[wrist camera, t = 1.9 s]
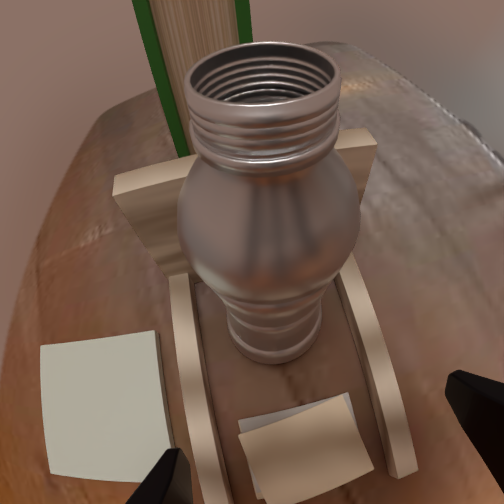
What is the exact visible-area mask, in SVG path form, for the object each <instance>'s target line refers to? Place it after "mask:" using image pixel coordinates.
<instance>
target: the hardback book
mask: <svg viewBox="0 0 504 504" xmlns="http://www.w3.org/2000/svg"><path fill="white" fill-rule="evenodd" d="M132 3H133V6H134V10H135V14H136V18H137V22H138V25H139V29H140V33H141V36H142V40H143V43H144V47H145V50H146V54H147V57H148V60H149V64H150V67H151V71H152V74H153V77H154V80H155V84H156V87H157V91H158V94H159V97H160V100H161V104H162V107H163V110H164V113H165V116H166V120H167V123H168V126H169V129H170V132H171V135H172V138H173V141H174V145H175V148H176V151H177V154H178V157H179V158H182V157H186V156H190V155H195V154H197V153H196V152H195V150H194V147H193V144H192V140H191V136H190V132H189V122H190V119H191V118H190V114H189V110H188V106H187V101H186V97H185V93H184V77H185V75H186V73H187V71H188V70H189V69H190V67H191V66H192V65H193V64H194V63H196V62H197V61H199V60H200V59H201V58H203V57H205V56H207V55H209V54H210V53H213V52H215V51H218V50H220V49H223V48H226V47H230V46H233V45H238V44H243V43H250V42H253V38H252V27H251V15H250V4H249V0H132Z"/></svg>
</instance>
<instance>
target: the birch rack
mask: <svg viewBox="0 0 504 504" xmlns="http://www.w3.org/2000/svg"><path fill="white" fill-rule="evenodd" d="M377 145H378V144H377V143H376V141H375V140H374V138H373V137H372V136H371V134H370V133H369V131H368V130H367V129H366V128H357V129H347V130H339V134H338V139H337V141H336V144H335V146H334V148H335V149H336V150H337V152H338V153H339V154H340V155H341V157H342V159H343V160H344V162H345V164H346V165H347V167H348V169H349V170H350V172H351V174H352V176H353V179H354V181H355V183H356V186H357V191H358V197H359V204H360V203H361V200H362V197H363V194H364V191H365V187H366V184H367V181H368V177H369V174H370V170H371V167H372V163H373V160H374V156H375V153H376V149H377ZM197 157H198V155H197V154H195V155H190V156H186V157H182V158H178V159H174V160H170V161H166V162H162V163H158V164H154V165H150V166H147V167H143V168H140V169H136V170H132V171H129V172H126V173H122V174H119V175H115V179H114V187H113V195H112V196H113V198H114V199H115V201H116V203H117V204H118V206H119V207H120V209H121V211H122V212H123V214H124V215H125V217H126V218H127V220H128V222H129V223H130V225H131V226H132V228H133V229H134V231H135V232H136V234H137V235H138V237H139V238H140V240H141V241H142V243H143V244H144V246H145V247H146V249H147V250H148V252H149V253H150V255H151V256H152V258H153V259H154V261H155V262H156V263H157V265H158V266H159V268H160V269H161V271H162V272H163V273H164V275H165V276H166V278H167V279H168V281H169V288H170V299H171V310H172V319H173V328H174V337H175V345H176V353H177V361H178V368H179V375H180V382H181V388H182V395H183V401H184V407H185V413H186V418H187V424H188V429H189V435H190V440H191V445H192V450H193V455H194V460H195V464H196V469H197V473H198V478H199V482H200V486H201V490H202V495H203V499H204V503H205V504H234V500H233V496H232V492H231V488H230V484H229V480H228V475H227V471H226V467H225V462H224V458H223V453H222V449H221V444H220V439H219V434H218V429H217V424H216V419H215V414H214V409H213V404H212V398H211V393H210V387H209V381H208V376H207V370H206V364H205V358H204V352H203V345H202V339H201V332H200V325H199V318H198V311H197V304H196V297H195V289H194V283H198V282H203V280H202V279H201V278H200V277H199V276H198V274H197V273H196V272H195V271H194V269H193V268H192V266H191V265H190V264H189V262H188V261H187V259H186V257H185V255H184V253H183V251H182V249H181V247H180V243H179V238H178V234H177V202H178V198H179V194H180V191H181V188H182V186H183V183H184V181H185V179H186V177H187V175H188V173H189V171H190V169H191V167H192V165H193V163H194V162H195V160H196V158H197ZM334 281H335V284H336V287H337V289H338V292H339V295H340V298H341V301H342V304H343V308H344V311H345V314H346V317H347V320H348V323H349V326H350V329H351V333H352V336H353V339H354V342H355V346H356V349H357V352H358V356H359V359H360V362H361V366H362V369H363V373H364V376H365V380H366V383H367V387H368V391H369V394H370V398H371V402H372V406H373V409H374V413H375V417H376V421H377V425H378V429H379V433H380V437H381V442H382V446H383V450H384V455H385V459H386V464H387V468H388V473H389V475H390V476H392V477H394V478H397V479H400V478H403V477H405V476H407V475H409V474H411V473H414V472H416V471H418V466H417V461H416V456H415V452H414V447H413V442H412V438H411V434H410V430H409V425H408V421H407V417H406V413H405V410H404V406H403V402H402V398H401V395H400V391H399V387H398V384H397V380H396V377H395V373H394V370H393V367H392V363H391V360H390V357H389V354H388V350H387V347H386V344H385V341H384V338H383V335H382V332H381V329H380V326H379V323H378V320H377V317H376V314H375V311H374V309H373V306H372V303H371V300H370V297H369V295H368V292H367V289H366V286H365V284H364V281H363V278H362V276H361V273H360V271H359V268H358V265H357V263H356V260H355V258H354V255H353V253H352V251H351V253H350V255H349V257H348V259H347V260H346V262H345V264H344V265H343V267H342V268H341V270H340V271H339V272H338V274H337V275H336V277H335V278H334Z"/></svg>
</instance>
